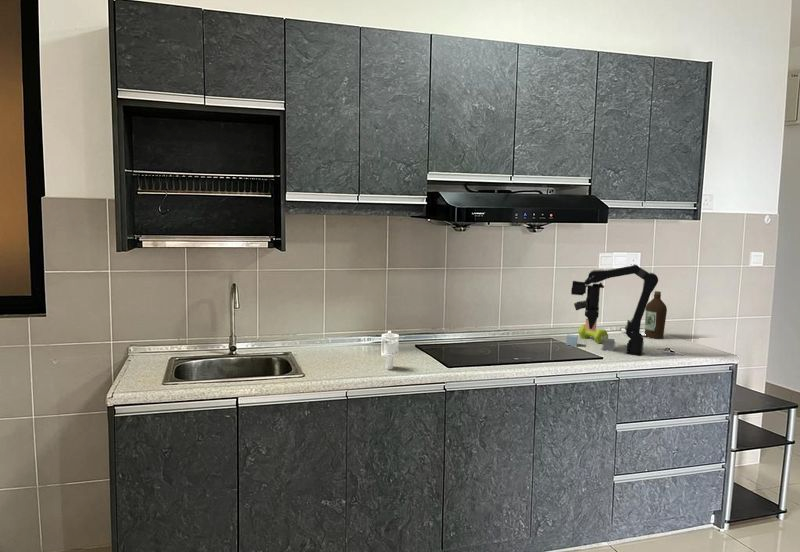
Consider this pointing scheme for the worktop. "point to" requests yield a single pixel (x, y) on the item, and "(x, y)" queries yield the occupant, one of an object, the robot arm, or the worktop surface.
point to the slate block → (571, 340)
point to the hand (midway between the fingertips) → (590, 327)
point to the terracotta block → (588, 326)
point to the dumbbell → (593, 334)
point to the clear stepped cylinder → (389, 348)
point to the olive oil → (655, 317)
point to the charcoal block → (608, 344)
